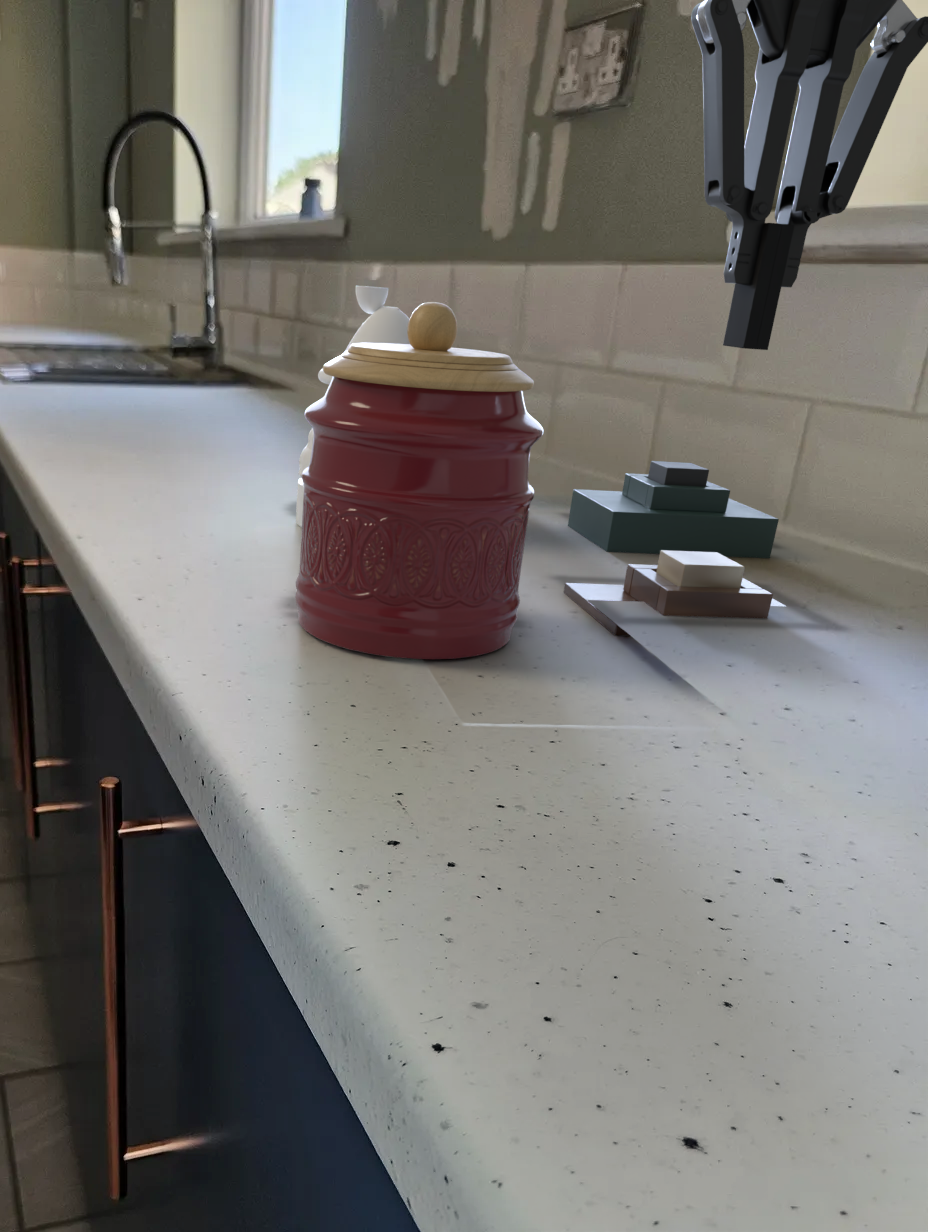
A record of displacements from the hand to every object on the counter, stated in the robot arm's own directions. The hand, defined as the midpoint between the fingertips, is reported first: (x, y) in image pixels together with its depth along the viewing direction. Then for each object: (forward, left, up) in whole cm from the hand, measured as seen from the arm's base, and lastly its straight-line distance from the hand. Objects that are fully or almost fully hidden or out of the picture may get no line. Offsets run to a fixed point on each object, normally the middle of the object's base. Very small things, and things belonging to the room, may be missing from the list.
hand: (745, 347), depth 66 cm
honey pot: (+17, -25, -17) cm, 34 cm away
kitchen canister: (+20, +5, -17) cm, 26 cm away
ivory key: (0, 0, -14) cm, 14 cm away
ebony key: (-8, -24, -12) cm, 28 cm away
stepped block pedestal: (0, 0, -16) cm, 16 cm away
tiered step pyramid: (-8, -23, -16) cm, 30 cm away
